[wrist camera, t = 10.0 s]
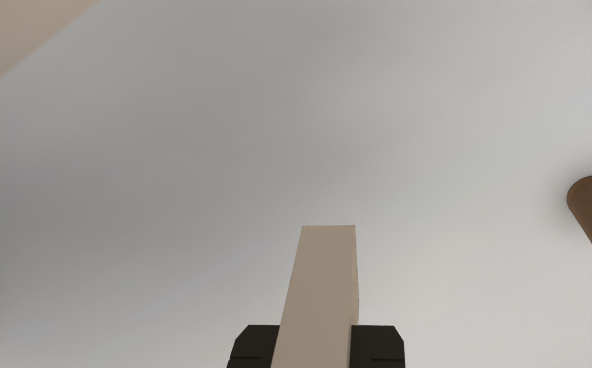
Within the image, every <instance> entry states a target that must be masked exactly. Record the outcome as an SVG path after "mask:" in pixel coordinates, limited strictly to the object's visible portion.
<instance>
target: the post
mask: <svg viewBox="0 0 592 368" xmlns="http://www.w3.org/2000/svg"><path fill="white" fill-rule="evenodd" d="M567 204H568V207H569V209H570V210H571V212H572V213H573V215H574V216H575V218H576V219H577V221H578V223H579V224H580V226H581V227H582V229H583V230H584V232H585V234H586V235H587V237H588V238H589V240H590V241H591V243H592V176H589V177H586V178H583V179H581V180H579V181H578V182H576V183H575V184H574V185H573V186H572V187H571V189H570V190H569V192H568V195H567Z"/></svg>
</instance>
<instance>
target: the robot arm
mask: <svg viewBox="0 0 592 368" xmlns="http://www.w3.org/2000/svg"><path fill="white" fill-rule="evenodd" d="M358 315H359V292H358V273H357V254H356V234H355V225H348V226H302V231H301V235H300V240H299V244H298V248H297V253H296V257H295V262H294V266H293V271H292V275H291V280H290V284H289V288H288V293H287V297H286V302H285V306H284V311H283V315H282V319H281V324H280V325H248V326H247V327H246V328H245V329H244V330H243V332H242V333H241V334H240V335H239V336H238V337H237V338H236V340H235V343H234V346H233V349H232V352H231V355H230V360H229V361H228V364H227V368H405V354H404V341H403V340H402V338H401V336H400V335H399V333H398V332H397V330H396V329H395V327H394V326H377V325H358Z"/></svg>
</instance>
